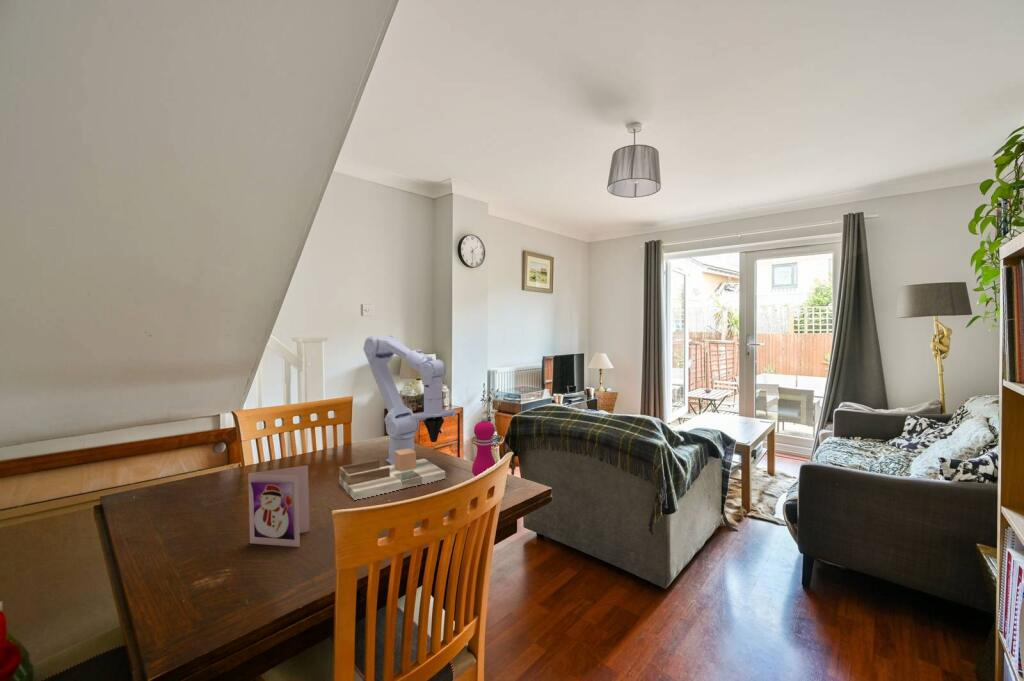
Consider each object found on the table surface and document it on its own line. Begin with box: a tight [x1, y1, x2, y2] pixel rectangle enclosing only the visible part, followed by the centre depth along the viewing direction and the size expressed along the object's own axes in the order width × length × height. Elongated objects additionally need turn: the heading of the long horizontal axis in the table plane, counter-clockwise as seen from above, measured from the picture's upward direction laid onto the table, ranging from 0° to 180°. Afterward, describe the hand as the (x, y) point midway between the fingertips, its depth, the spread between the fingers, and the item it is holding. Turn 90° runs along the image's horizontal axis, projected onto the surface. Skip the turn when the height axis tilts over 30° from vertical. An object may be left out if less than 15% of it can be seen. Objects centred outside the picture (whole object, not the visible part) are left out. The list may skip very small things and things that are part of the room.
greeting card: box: [247, 465, 310, 548], centre depth 93 cm, size 11×7×15 cm, turn 82°
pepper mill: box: [471, 415, 497, 477], centre depth 124 cm, size 7×7×20 cm
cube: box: [394, 448, 417, 472], centre depth 131 cm, size 5×5×5 cm
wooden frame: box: [338, 459, 390, 485], centre depth 124 cm, size 10×12×2 cm
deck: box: [338, 458, 446, 501], centre depth 127 cm, size 15×26×2 cm, turn 126°
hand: (433, 441), depth 135 cm, fingers closed
